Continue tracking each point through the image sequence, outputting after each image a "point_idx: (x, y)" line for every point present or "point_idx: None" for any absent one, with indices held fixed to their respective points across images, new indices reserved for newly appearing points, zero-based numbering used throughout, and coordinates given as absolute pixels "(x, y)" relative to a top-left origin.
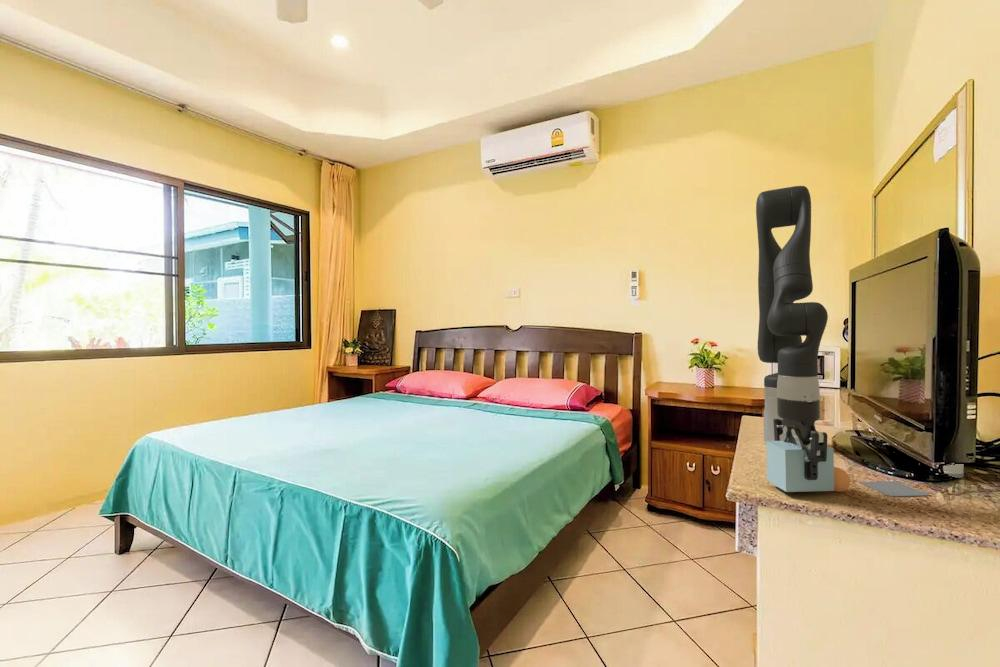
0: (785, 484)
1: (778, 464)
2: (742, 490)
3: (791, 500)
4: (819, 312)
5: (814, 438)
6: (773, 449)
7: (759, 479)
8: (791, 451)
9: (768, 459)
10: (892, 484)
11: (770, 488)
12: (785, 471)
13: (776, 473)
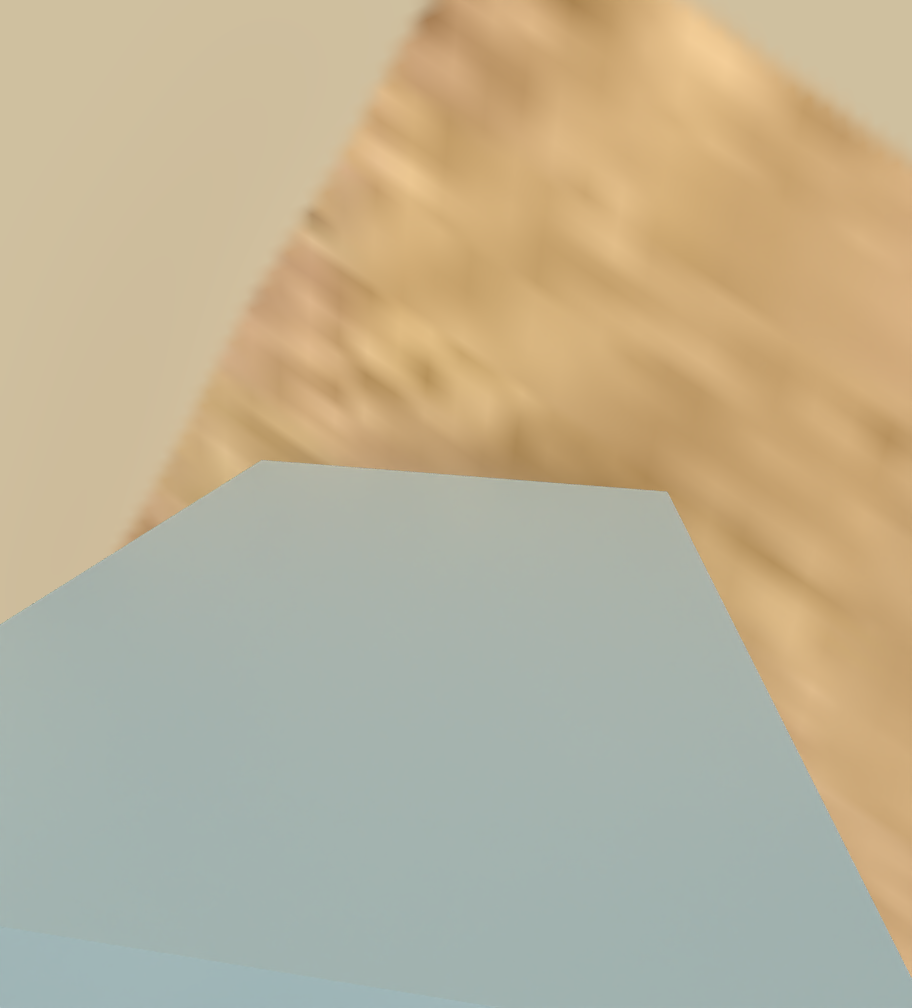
0: (235, 487)
1: (295, 597)
2: (559, 33)
3: (219, 449)
4: None
5: None
6: (401, 812)
7: (895, 522)
8: None
9: (663, 632)
10: None
11: (572, 456)
12: (119, 552)
13: (411, 529)
